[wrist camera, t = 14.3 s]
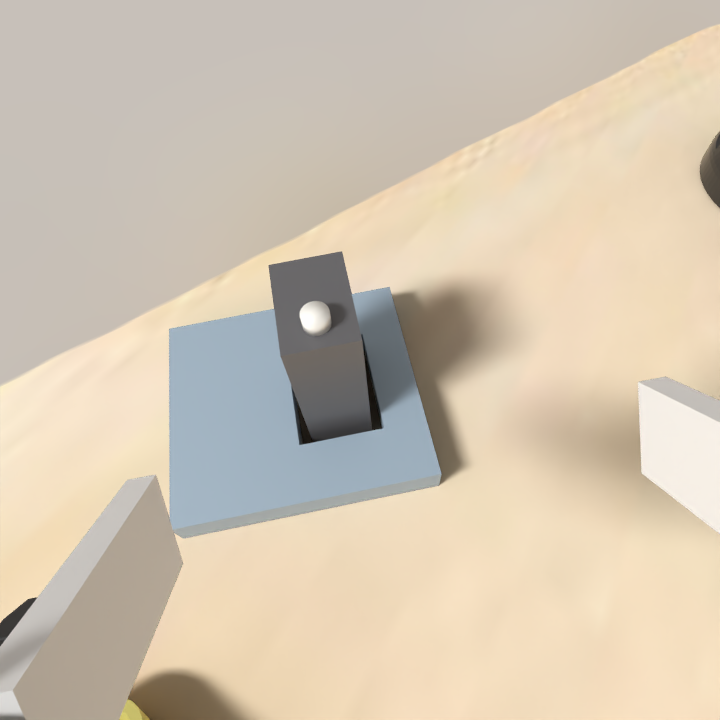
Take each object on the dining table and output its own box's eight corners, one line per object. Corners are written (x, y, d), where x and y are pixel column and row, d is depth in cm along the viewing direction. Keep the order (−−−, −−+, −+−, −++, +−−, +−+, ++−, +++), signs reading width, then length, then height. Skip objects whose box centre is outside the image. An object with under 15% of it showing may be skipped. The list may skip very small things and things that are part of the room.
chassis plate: (389, 305, 45) (389, 286, 43) (439, 485, 37) (441, 474, 35) (180, 345, 44) (169, 328, 42) (183, 538, 36) (169, 530, 34)
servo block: (356, 361, 42) (340, 239, 30) (372, 434, 39) (361, 329, 27) (303, 372, 42) (264, 253, 30) (314, 446, 39) (276, 346, 27)
